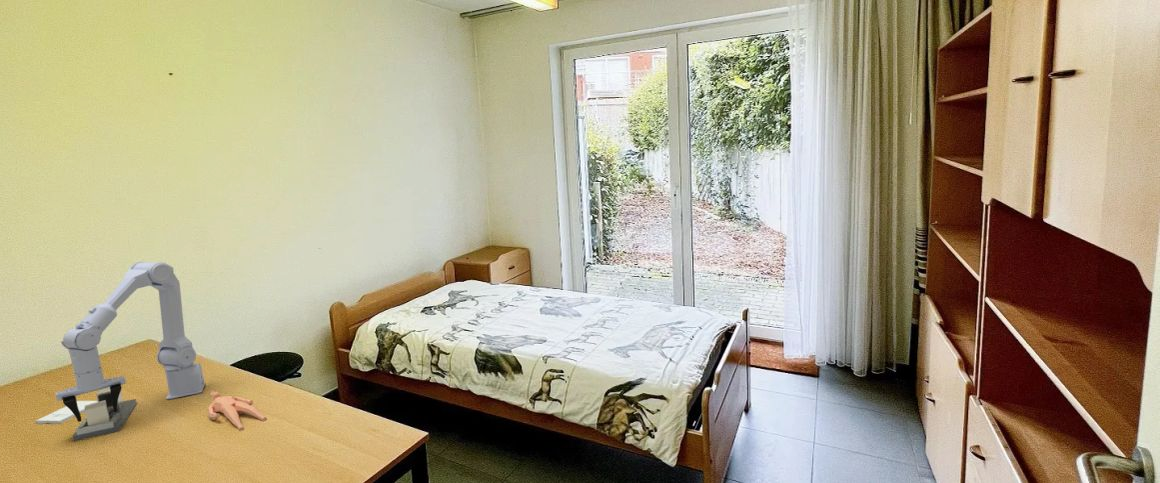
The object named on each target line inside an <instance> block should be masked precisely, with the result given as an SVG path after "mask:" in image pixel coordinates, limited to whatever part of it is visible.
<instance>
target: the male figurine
mask: <svg viewBox="0 0 1160 483" xmlns="http://www.w3.org/2000/svg"><path fill="white" fill-rule="evenodd" d="M209 396H210V398H211V399H213V402H212V403H210V404H209V406H208V408H207V417H208V418H209V419H210V420H211V421H214V420H217V419H220V417H221V414H220V413H223V415H224V416H225V418H226V419H227V420H229V421H230V422H231V423H232V424H233V425H234V426H235V427H236V428H237V429H238V431H243V430H244V429H245V427H244V426H243V425H242V421H241V420H240V419H241V418H240V415H244V414H247V415H249V416H252V417H255V418H256V419H259V420H260V421H262V422H264V421H266V420H267V417H266V416H265V415H263V414H262V413H261V412H260V411H259V409H257V407H255V406H254V405H253V404H254V401H253V400H252V399H251V400H250V399H246V398H243V397H240V396H232V395H226V396H222V395H221V394H220V393H219V391H217V390H212V391H211V392H210V395H209Z"/></svg>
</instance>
